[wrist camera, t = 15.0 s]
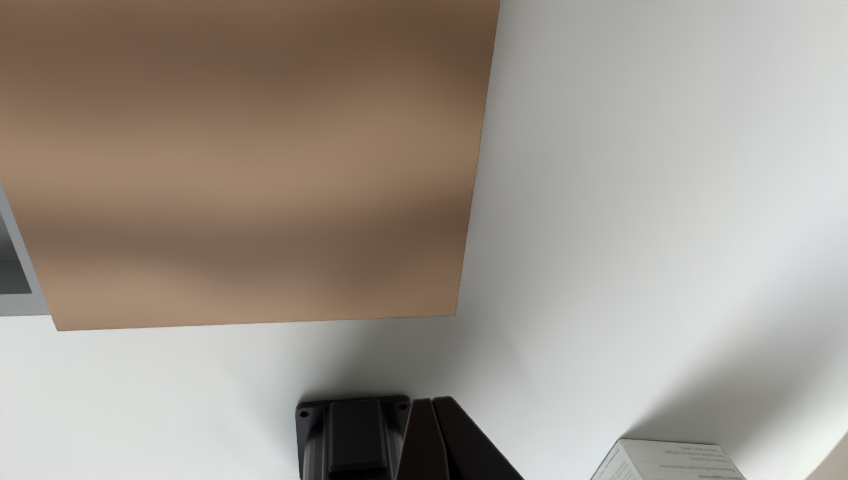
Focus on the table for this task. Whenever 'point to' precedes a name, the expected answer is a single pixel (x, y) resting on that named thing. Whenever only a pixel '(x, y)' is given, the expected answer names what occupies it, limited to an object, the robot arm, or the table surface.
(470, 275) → the table surface
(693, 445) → the supplement box
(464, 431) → the robot arm
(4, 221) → the box
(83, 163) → the tan bevelled block
